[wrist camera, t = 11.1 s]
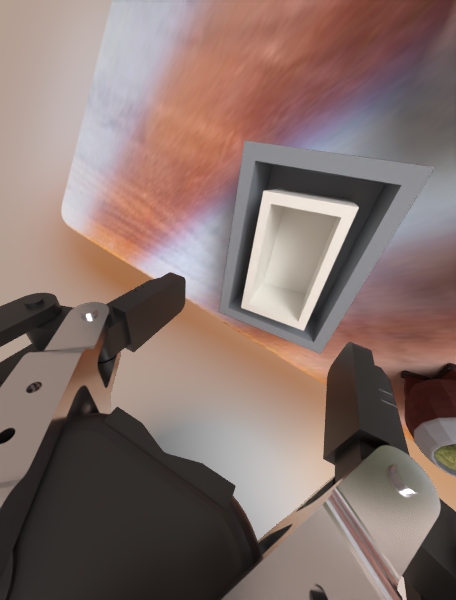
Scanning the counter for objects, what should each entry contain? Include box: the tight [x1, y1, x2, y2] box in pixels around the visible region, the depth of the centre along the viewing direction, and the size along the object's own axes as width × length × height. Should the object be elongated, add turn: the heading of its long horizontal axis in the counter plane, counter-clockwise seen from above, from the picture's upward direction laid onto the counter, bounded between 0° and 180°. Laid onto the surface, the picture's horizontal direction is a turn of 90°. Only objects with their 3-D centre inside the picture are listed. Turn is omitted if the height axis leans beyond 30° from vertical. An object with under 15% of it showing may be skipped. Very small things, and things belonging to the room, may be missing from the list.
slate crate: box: [219, 141, 435, 354], centre depth 19 cm, size 11×15×6 cm
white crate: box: [241, 188, 359, 331], centre depth 18 cm, size 6×10×6 cm, turn 172°
